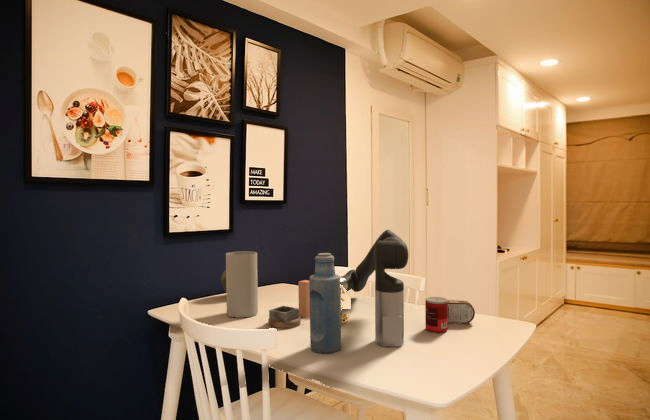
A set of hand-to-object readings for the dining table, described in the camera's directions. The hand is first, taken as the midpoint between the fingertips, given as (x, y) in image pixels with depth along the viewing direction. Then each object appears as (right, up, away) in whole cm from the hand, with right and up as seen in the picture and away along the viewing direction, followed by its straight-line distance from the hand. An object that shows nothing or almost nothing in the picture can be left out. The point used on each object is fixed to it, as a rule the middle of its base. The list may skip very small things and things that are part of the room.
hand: (313, 293), depth 173 cm
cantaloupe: (-38, -8, +30) cm, 49 cm away
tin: (+53, -9, -15) cm, 56 cm away
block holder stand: (-11, -9, -15) cm, 20 cm away
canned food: (+44, -9, -23) cm, 51 cm away
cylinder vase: (-29, -9, -1) cm, 30 cm away
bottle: (+5, -10, -41) cm, 42 cm away
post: (-3, -8, -4) cm, 10 cm away
